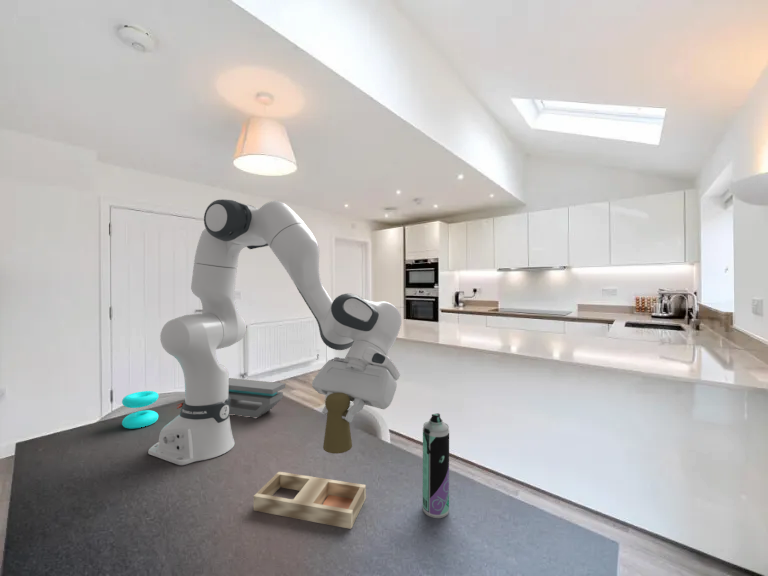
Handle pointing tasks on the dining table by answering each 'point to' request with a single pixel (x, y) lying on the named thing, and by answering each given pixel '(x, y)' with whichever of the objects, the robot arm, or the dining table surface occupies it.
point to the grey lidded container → (253, 396)
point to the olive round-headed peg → (337, 424)
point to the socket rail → (312, 499)
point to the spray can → (436, 467)
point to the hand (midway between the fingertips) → (335, 417)
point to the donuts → (140, 417)
